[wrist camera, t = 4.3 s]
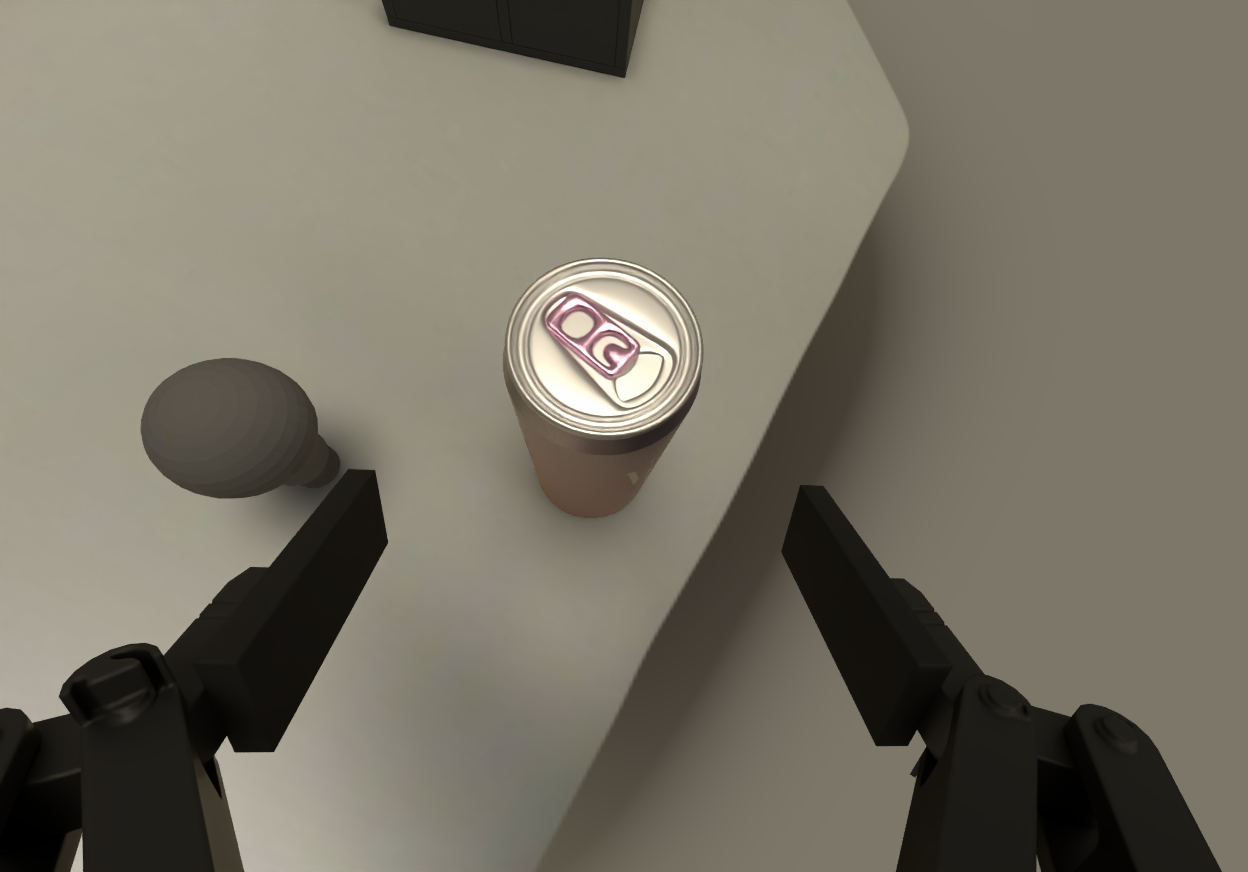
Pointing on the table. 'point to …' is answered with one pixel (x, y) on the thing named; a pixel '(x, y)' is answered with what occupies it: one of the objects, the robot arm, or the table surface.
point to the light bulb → (235, 431)
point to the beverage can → (600, 378)
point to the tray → (532, 27)
